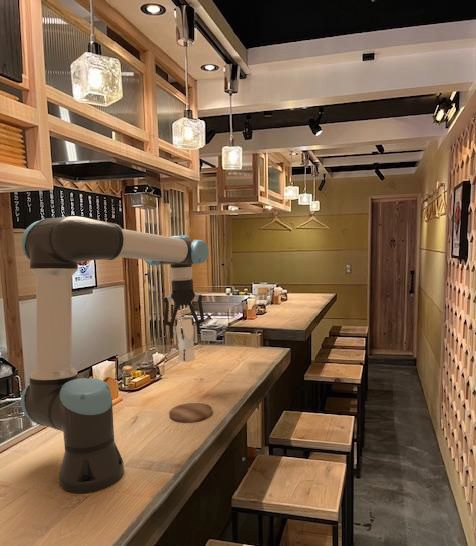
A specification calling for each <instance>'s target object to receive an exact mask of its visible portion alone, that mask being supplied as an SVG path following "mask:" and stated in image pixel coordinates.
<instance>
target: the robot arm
mask: <svg viewBox="0 0 476 546" xmlns="http://www.w3.org/2000/svg"><path fill="white" fill-rule="evenodd" d="M21 249H22V253H23V255H25V256H26V258H27V260H29V271H31V272H32V273H33V275H35V277H36V288H35V289H36V291H35V292H36V295H35V297H36V303H35V304H36V306H35V307H36V308H35V309H36V311H35V312H36V316H35V317H36V319H35V320H36V321H35V323H36V327H35V329H36V331H35V332H36V335H35V336H36V337H35V343H36V344H35V346H36V347H35V348H36V349H35V351H36V352H35V355H36V356H35V357H36V358H35V361H36V362H35V367H36V368H35V369H34V371H32V372H31V374H29V382H28V383H27V384H26V387H25V388H24V389H23V391H22V394H21V396H20V406H21V409H22V412H23V414H24V416H25V417H26V418H27V419H28V420H30V421H31V422H34V423H35V424H37V425H39V426H43V427H44V426H45V427H48V428H50V429H51V428H52V429H53V430H56V431H60V432H63V442H64V453H63V458H62V461H61V462H62V463H61V466H60V470H59V472H58V474H59V475H58V478H59V486H60V488H61V487H62V488H63V489H64V490H63V489H62V488H61V489H62V490H63V491H65V492H69V493H72V494H86V493H92V492H96V491H100V490H102V489H105V488H108V487H110V486H111V485H113V484H114V483H116V482H118V480H120V479H121V478H122V476H124V475H123V474H124V473H125V467H124V460H123V458H122V454H121V453H120V451H119V448H118V446H117V444H116V442H115V430H114V429H115V427H114V414H113V411H114V410H113V396H112V392H111V388H110V386H109V384H108V383H107V382H105V381H104V380H103V379H99V378H94V377H93V378H92V377H90V378H87V377H83V378H81V377H80V378H78V371H77V370H76V368H74V367H73V366H72V340H73V339H72V338H73V337H72V331H73V329H72V320H73V319H72V314H73V313H72V308H73V307H72V295H73V294H72V293H73V292H72V288H73V287H72V285H73V284H72V278H73V275H75V273H76V272H78V271H79V264H78V263H80V262H81V263H82V262H89V261H101V260H105V261H106V260H107V261H113V260H116V259H117V258H123V259H124V258H126V259H134V260H135V259H136V260H143V261H144V262H145V263H146V264H147V265H149V266H159V265H170V279H172V280H171V294H170V295H168V296H164V297H163V300H164V304H165V306H164V307H165V308H164V310H165V311H164V325H165V326H169V333H170V334H169V335H170V336H173V345H174V346H175V345H177V339H176V331H175V319H176V318H177V317H176V316H177V313H178V310H179V307H181V306H188V308H189V310H190V312H191V315H192V317H193V319H194V329H195V337H194V344H198V334H200V333H201V327H200V326H201V325H200V324H202V323H204V322H205V315H204V309H203V303H202V300H203V295H202V294H201V293H200V294H196V293H195V291H194V281H193V279H192V278H193V265H198V264H204V263H206V261H207V260H208V258H209V252H210V251H209V246H208V244H207V243H206V242H205V241H204V240H202V239H192V240H191V237H190V236H189V235H185V234H184V235H171V236H167V235H161V234H156V233H155V234H153V233H150V232H149V233H148V232H142V231H137V230H133V229H132V230H130V229H125V228H122V227H121V225H119V224H117V223H114V222H108V221H103V220H99V219H95V218H90V217H84V216H75V215H71V216H70V215H69V216H62V217H50V218H44V219H40V220H37V221H35V222H33V223H31V224H30V225H29V226H28V227H26V229H25V230H24V232H23V234H22V237H21ZM194 298H195V300H196V301H197V305H198V311H199V317H200V318H199V317H198V315H197V313H196V310H195V308H194V306H193V304H192V301H193V300H194ZM171 300H172V301H173V302H174V303H175V306H174V309H173V312H172V315H171V317H170V318H171V319H170V321H169V312H170V311H169V307H170V303H171ZM73 492H74V493H73Z"/></svg>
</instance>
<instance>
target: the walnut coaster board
mask: <svg viewBox="0 0 476 546" xmlns="http://www.w3.org/2000/svg"><path fill="white" fill-rule="evenodd" d="M212 409H213V408H212V407H211V405H209V404H207V403H202V402H189V403H183V404H178V405H177V406H174V407H173V408H171V409H170V410H169V412H168V415H169V419H170V420H171V421H173V422H175V423H180V424H181V423H182V424H188V423H189V424H190V423H197V422H201V421H204V420H206V419H208V418H210V417H211V416H212V415H213V410H212Z"/></svg>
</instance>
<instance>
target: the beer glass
mask: <svg viewBox="0 0 476 546" xmlns="http://www.w3.org/2000/svg"><path fill="white" fill-rule="evenodd" d="M194 324H195V319H194V317H193V316H180V317H175V321H174V325H175V331H176V344H177V347H178V357H177V360H178V362H180V363H181V362H184V363H187V362H193V361H194V360H195V359H196V356H195V352H194V350H195V349H194V344H195V329H194Z"/></svg>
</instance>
